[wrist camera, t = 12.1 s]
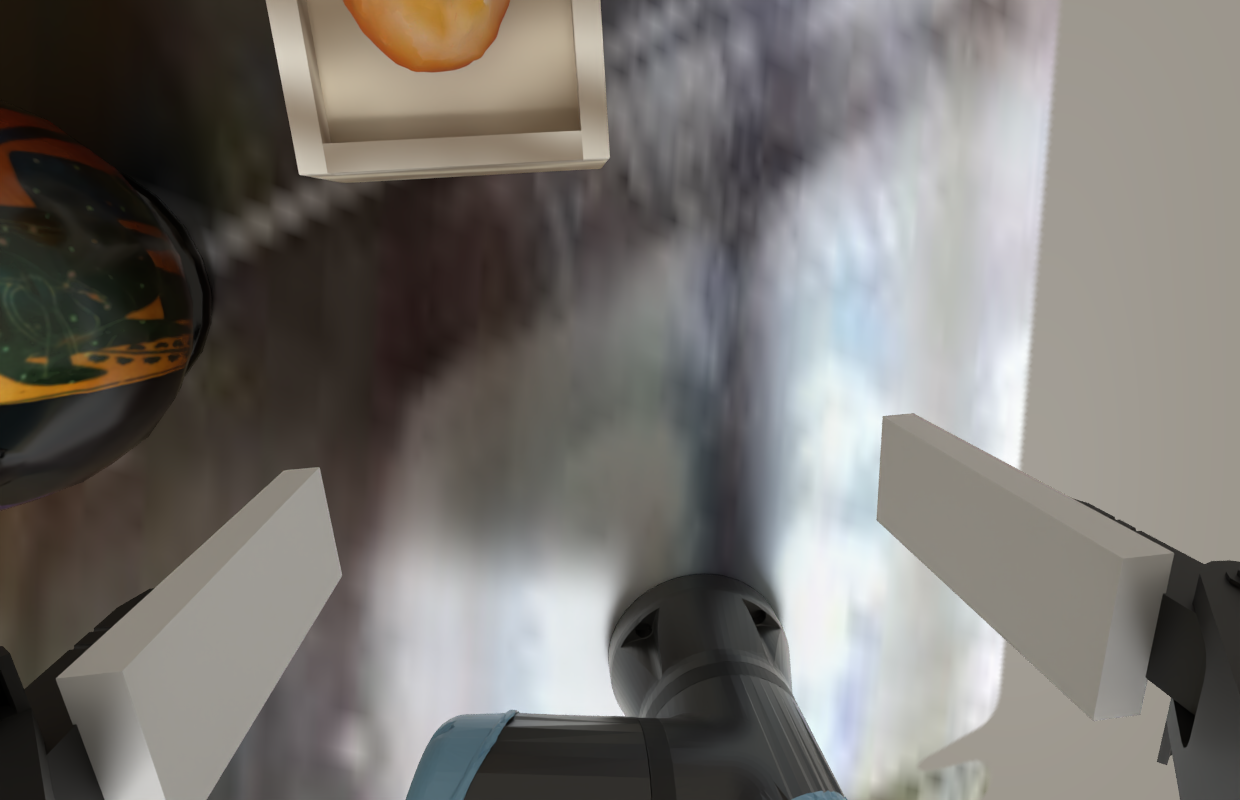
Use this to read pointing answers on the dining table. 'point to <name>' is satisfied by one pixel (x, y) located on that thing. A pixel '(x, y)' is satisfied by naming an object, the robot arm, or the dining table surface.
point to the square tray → (444, 97)
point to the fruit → (430, 30)
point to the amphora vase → (85, 310)
